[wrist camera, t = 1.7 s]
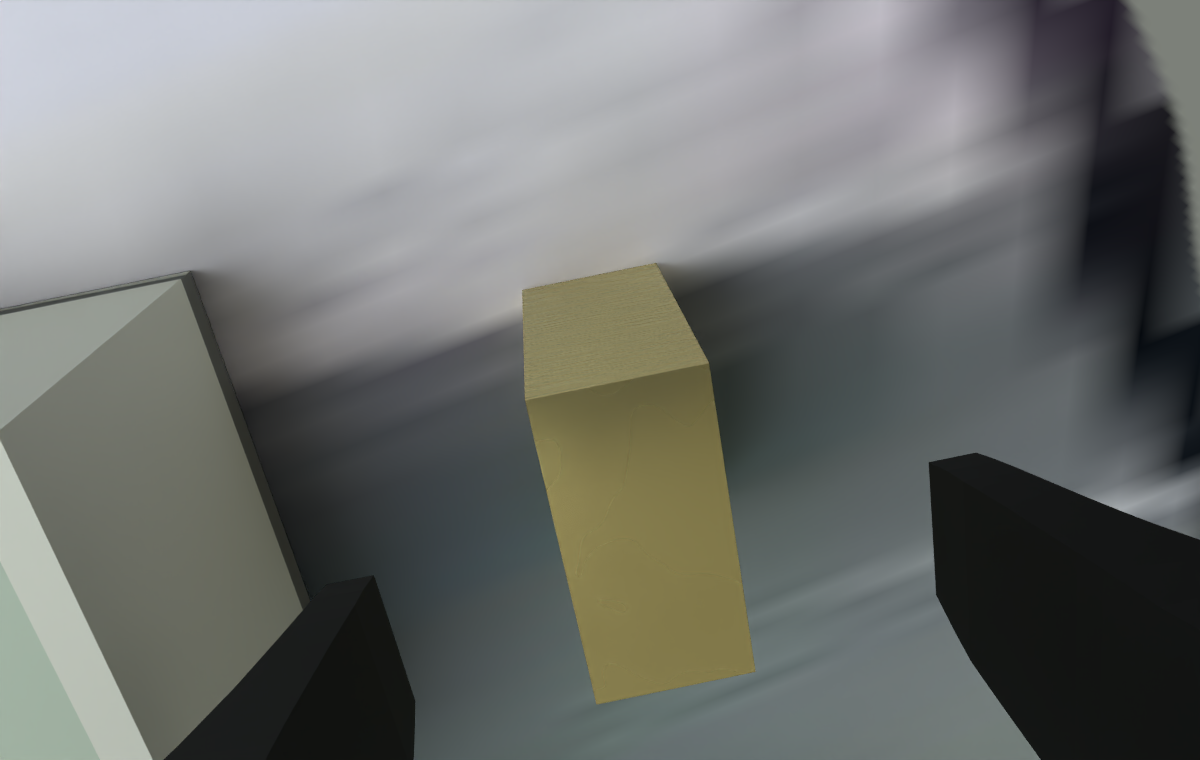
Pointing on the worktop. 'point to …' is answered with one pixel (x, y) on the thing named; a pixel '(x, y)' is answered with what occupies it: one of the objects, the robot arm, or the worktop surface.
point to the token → (635, 482)
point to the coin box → (128, 526)
